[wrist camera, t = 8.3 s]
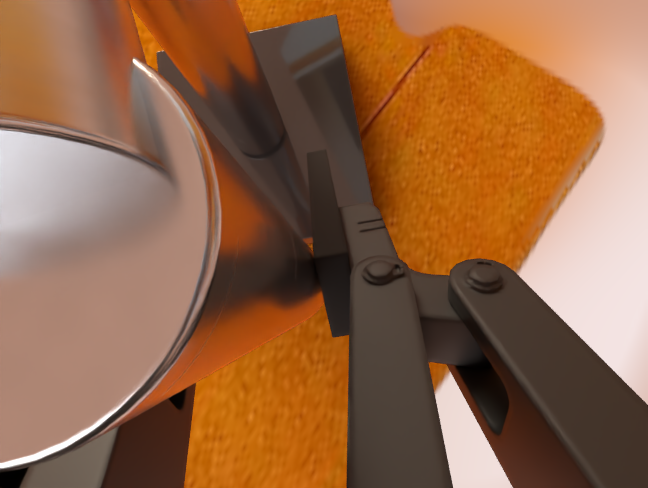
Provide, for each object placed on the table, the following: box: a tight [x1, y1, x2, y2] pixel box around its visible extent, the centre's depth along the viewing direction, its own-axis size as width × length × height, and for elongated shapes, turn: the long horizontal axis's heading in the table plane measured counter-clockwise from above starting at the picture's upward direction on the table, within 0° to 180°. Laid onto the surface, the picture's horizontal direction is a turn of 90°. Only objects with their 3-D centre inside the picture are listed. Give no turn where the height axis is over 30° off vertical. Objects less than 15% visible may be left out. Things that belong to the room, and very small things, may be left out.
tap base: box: [157, 15, 374, 244], centre depth 21 cm, size 14×12×2 cm
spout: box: [0, 0, 324, 472], centre depth 11 cm, size 13×3×18 cm, turn 19°
